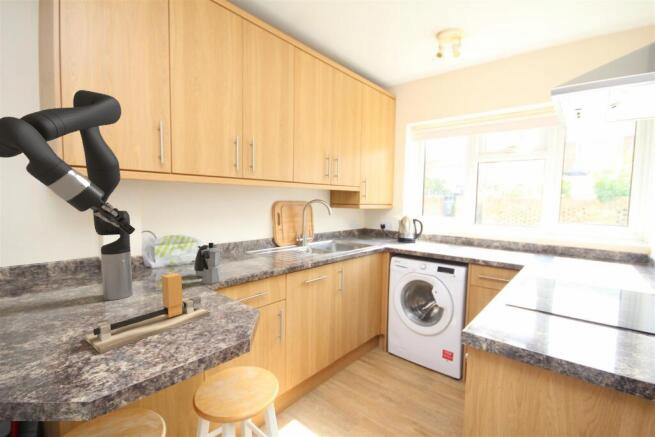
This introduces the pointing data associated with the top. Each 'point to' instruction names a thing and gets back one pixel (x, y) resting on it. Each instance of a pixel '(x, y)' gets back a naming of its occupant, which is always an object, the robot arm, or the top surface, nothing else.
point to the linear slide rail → (143, 326)
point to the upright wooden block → (172, 294)
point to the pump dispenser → (199, 261)
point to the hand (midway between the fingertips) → (132, 231)
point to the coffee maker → (211, 265)
